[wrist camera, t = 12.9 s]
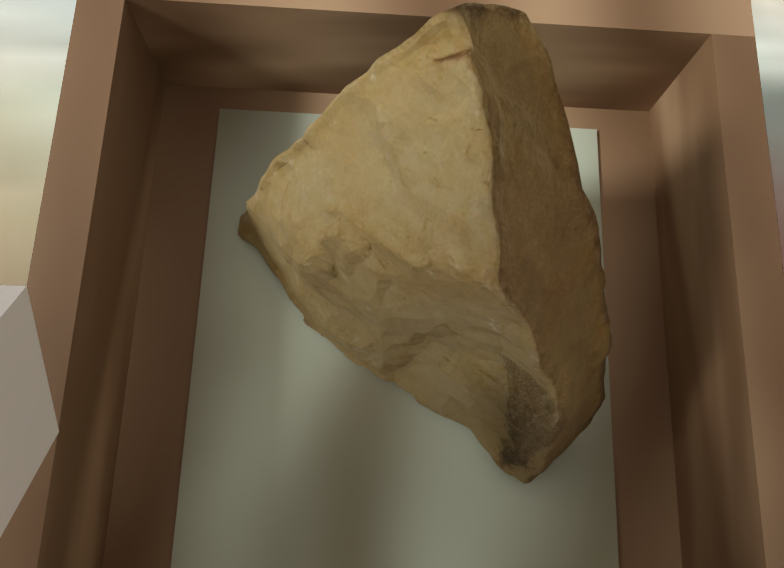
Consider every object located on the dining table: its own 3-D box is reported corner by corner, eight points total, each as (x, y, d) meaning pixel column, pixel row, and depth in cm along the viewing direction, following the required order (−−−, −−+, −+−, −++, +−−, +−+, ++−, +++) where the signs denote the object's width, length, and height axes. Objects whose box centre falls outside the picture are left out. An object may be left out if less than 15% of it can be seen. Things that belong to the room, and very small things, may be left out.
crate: (52, 663, 19) (-51, 726, 14) (138, 63, 24) (84, -44, 19) (720, 677, 20) (840, 741, 15) (671, 93, 24) (750, -2, 20)
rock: (727, 443, 18) (616, 76, 19) (664, 573, 11) (491, -36, 12) (378, 494, 23) (308, 206, 25) (178, 602, 16) (91, 184, 17)
